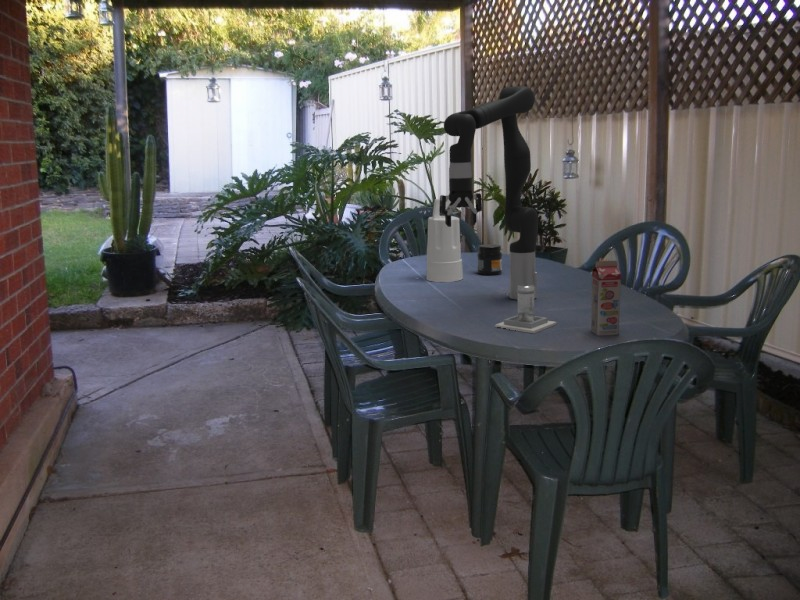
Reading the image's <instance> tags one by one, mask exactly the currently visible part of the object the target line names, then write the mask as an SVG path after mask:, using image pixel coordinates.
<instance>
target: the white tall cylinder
mask: <svg viewBox="0 0 800 600" xmlns="http://www.w3.org/2000/svg"><path fill="white" fill-rule="evenodd" d="M433 201H434V202H433V210H432V216H429V217H428V220H427V243H426V281H430V282H435V283H451V282H458V281H461V280H463V279H464V274H463V259H462V253H461V251H462V249H461V231H460V230H461V227H460V218H459V217H457V216H455V215H454V216H453V215H451V227H448V226H447V225H446V224H445V215H440V212H439V208H440V198H435V199H434V200H433ZM449 204H450V200H449V199H448V200H447V202H446V209H447V208H448V205H449Z"/></svg>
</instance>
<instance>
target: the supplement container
mask: <svg viewBox="0 0 800 600" xmlns="http://www.w3.org/2000/svg"><path fill="white" fill-rule="evenodd" d="M477 247H478V252H477V254H476V255H477V273H478V274H479V275H481V276H498V275H500V274H501V273H502V272H503V269H502V268H503V253H502V251H501V250H502V245H500V244H494V243H493V244H491V243H489V244H488V243H487V244H486V243H485V244H480V245H478V246H477Z"/></svg>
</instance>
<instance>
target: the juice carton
mask: <svg viewBox="0 0 800 600" xmlns="http://www.w3.org/2000/svg"><path fill="white" fill-rule="evenodd" d="M618 263H619V261H618V260H610V261H608V260H607V261H605V260H604V261H599V260H598V261H597V260H595V266H594V268H593V269H592V270H591V297H590V298H591V301H590V302H591V304H590V305H591V307H590V308H591V309H590V310H591V311H590V331H591V332H592V333H593V334H595V335H596V336H598V337H599V336H617V335H618V336H619V335H620V316H621V315H620V312H621V288H622V286H621V285H622V284H621V283H622V282H621V281H622V273H621V271H620V269H619V267H618Z"/></svg>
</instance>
